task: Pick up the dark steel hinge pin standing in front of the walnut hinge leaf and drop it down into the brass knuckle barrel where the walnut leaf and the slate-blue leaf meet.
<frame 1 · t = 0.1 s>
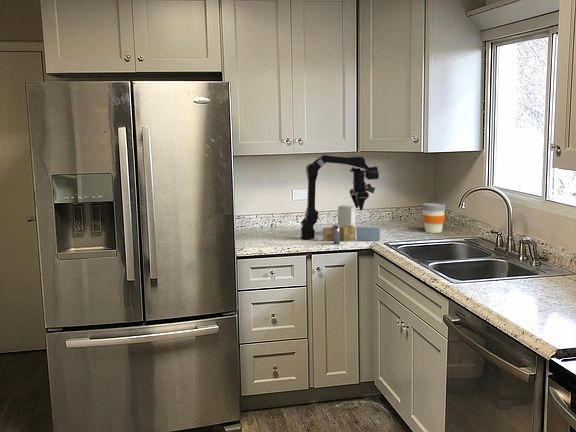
hand: (359, 209, 331), 15 cm above the worktop, fingers open, 9 cm apart
swing leaf: (368, 233, 320), point 4 cm above the worktop, hinge at -25.0°
skincare box: (346, 234, 340), on the worktop
reusable coffee cup: (433, 231, 342), on the worktop
knuckle leaf: (348, 239, 324), on the worktop
hinge pin: (336, 243, 314), on the worktop
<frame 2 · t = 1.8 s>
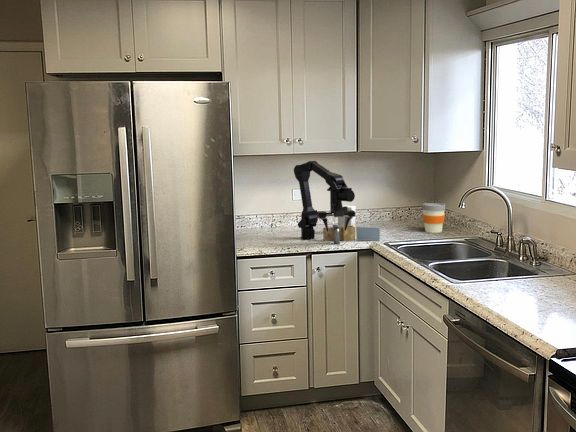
hand: (336, 230, 313), 7 cm above the worktop, fingers open, 9 cm apart
nothing on the worktop moved.
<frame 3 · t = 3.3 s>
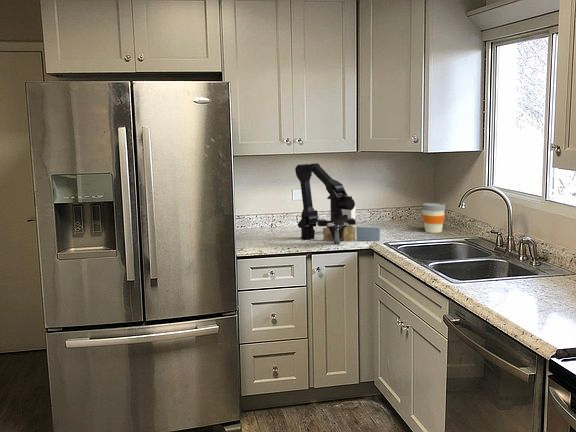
hand: (336, 238, 313), 3 cm above the worktop, fingers closed on hinge pin, 3 cm apart
hinge pin: (336, 243, 314), on the worktop, touching gripper
everything else where it was.
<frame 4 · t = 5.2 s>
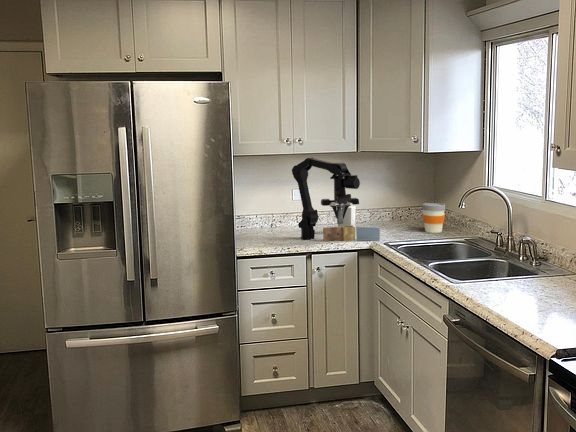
hand: (340, 218, 315), 12 cm above the worktop, fingers closed on hinge pin, 3 cm apart
hinge pin: (340, 223, 315), point 10 cm above the worktop, touching gripper
everything else where it was.
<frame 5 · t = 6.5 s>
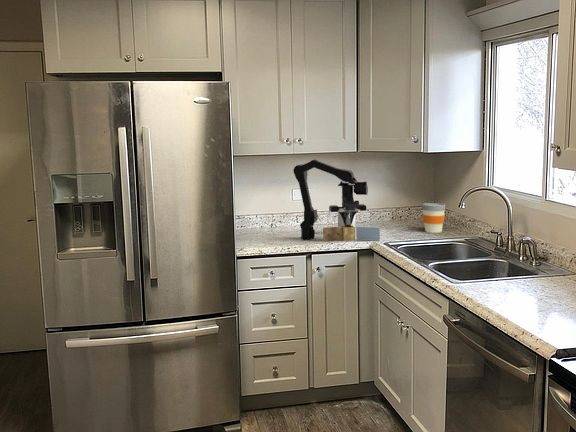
hand: (347, 224, 322), 8 cm above the worktop, fingers closed on hinge pin, 3 cm apart
hinge pin: (347, 229, 323), point 6 cm above the worktop, touching gripper
everything else where it was.
when the fingers open (8 cm above the worktop, at t = 7.4 s): hinge pin drops 5 cm, resting in knuckle leaf.
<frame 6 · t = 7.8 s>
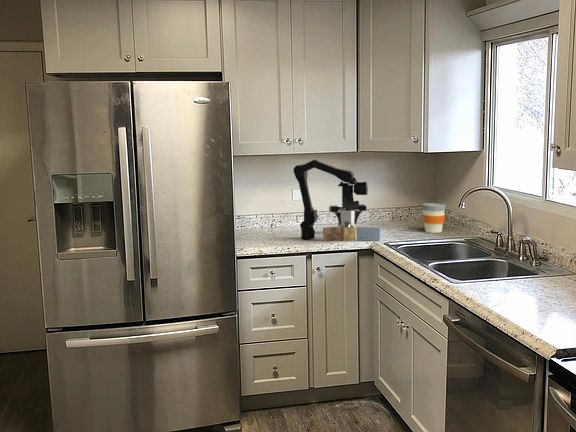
hand: (347, 224, 322), 8 cm above the worktop, fingers open, 7 cm apart
hinge pin: (348, 239, 324), resting in knuckle leaf
everything else where it was.
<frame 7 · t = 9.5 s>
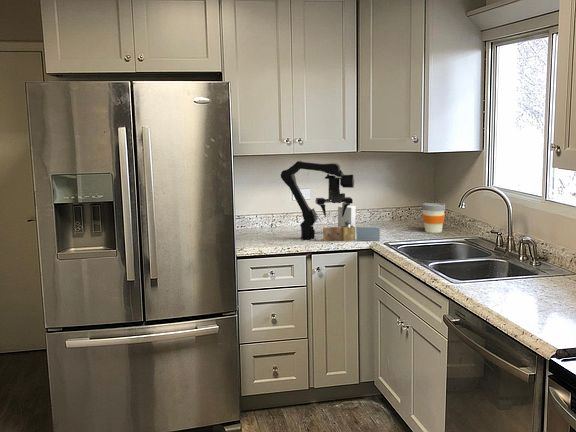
hand: (333, 217, 325), 12 cm above the worktop, fingers open, 9 cm apart
nothing on the worktop moved.
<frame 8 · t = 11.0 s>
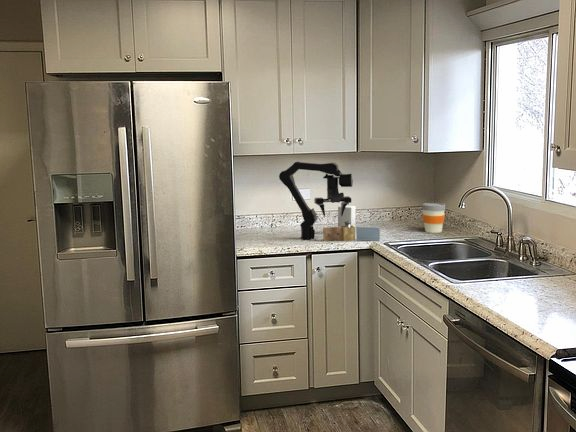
hand: (333, 216, 325), 12 cm above the worktop, fingers open, 9 cm apart
nothing on the worktop moved.
at the end: hinge pin 0.1 cm off-centre on the knuckle leaf, point 0.0 cm above the knuckle leaf's base; hinge pin tilted 0°; the gripper is holding nothing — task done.
